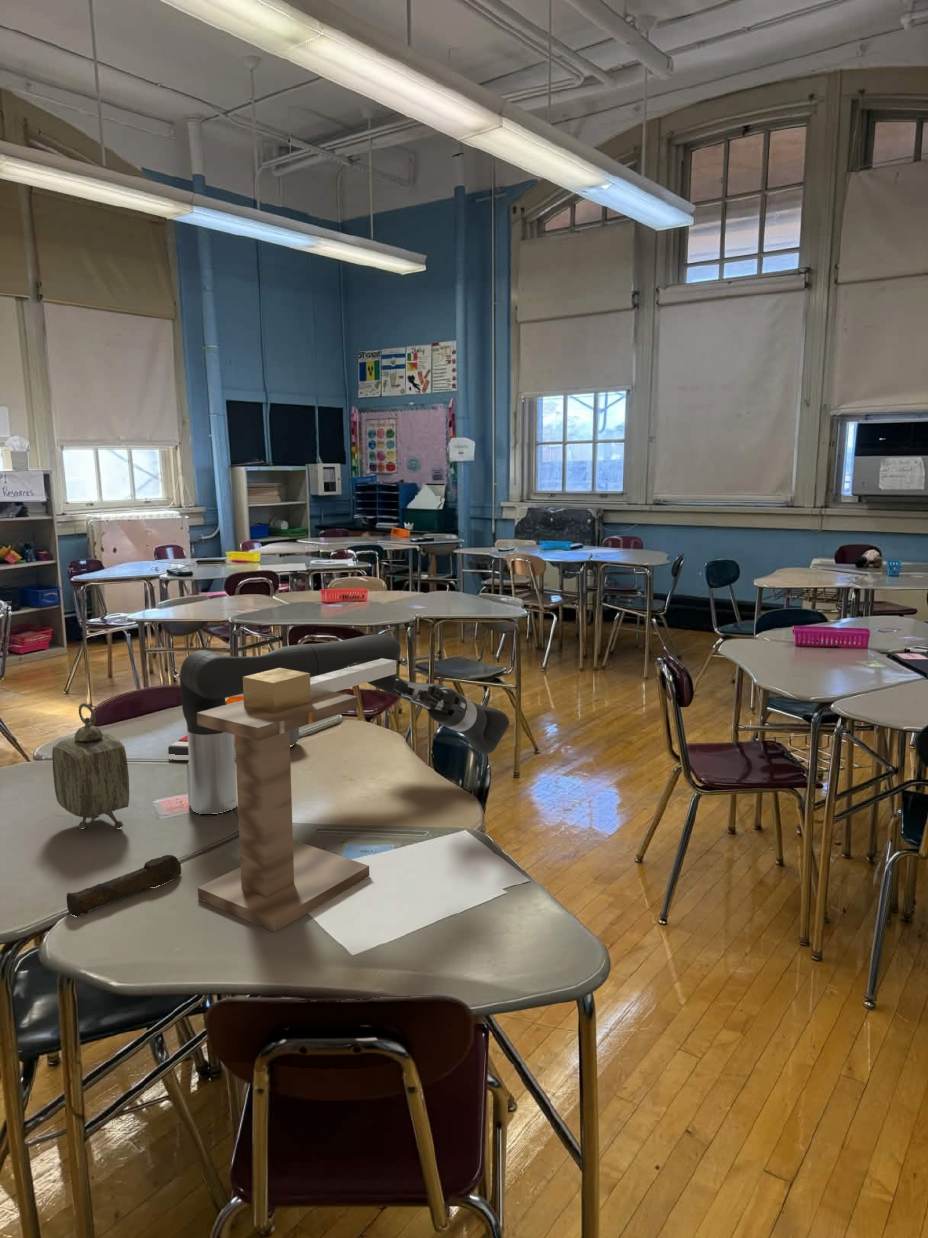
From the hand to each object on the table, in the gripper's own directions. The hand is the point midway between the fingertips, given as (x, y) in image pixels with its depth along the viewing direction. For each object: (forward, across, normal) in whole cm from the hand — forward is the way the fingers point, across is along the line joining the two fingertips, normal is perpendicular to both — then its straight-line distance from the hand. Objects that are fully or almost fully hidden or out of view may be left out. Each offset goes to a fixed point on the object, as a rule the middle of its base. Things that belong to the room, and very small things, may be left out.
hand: (412, 686), depth 165 cm
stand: (+17, 0, +42) cm, 45 cm away
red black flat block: (-17, -70, +23) cm, 76 cm away
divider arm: (+22, 0, +8) cm, 24 cm away
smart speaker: (-29, -57, +15) cm, 66 cm away
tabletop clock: (+20, -50, +44) cm, 69 cm away
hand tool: (+31, -20, +50) cm, 62 cm away
